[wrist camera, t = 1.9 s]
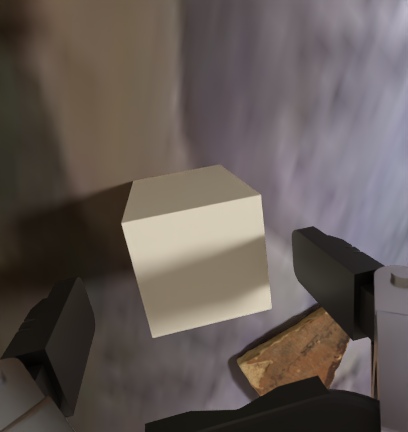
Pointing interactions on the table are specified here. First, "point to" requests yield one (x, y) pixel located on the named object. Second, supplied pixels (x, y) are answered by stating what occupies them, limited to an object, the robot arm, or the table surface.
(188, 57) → the table surface
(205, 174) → the cream block
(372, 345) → the robot arm
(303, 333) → the shard
